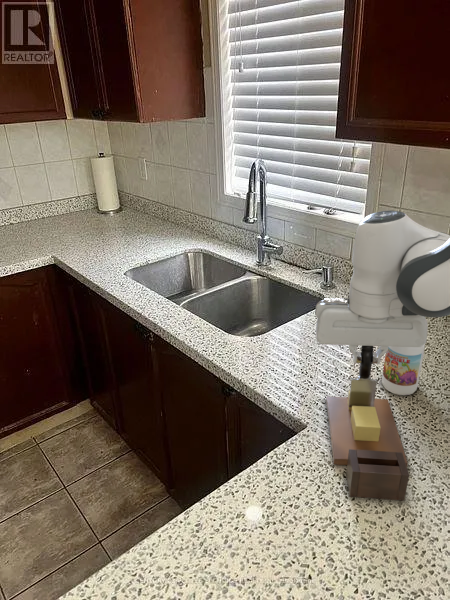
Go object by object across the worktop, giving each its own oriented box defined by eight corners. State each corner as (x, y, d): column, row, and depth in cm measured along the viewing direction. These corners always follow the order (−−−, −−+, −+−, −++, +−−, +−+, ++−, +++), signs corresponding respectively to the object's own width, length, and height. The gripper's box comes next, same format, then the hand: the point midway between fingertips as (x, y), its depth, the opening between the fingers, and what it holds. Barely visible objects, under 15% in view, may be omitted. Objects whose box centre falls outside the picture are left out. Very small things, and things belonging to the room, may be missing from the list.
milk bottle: (387, 372, 108) (398, 297, 99) (420, 382, 104) (435, 306, 95) (376, 388, 102) (387, 311, 93) (411, 400, 98) (426, 321, 89)
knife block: (397, 477, 80) (402, 452, 77) (404, 500, 75) (409, 475, 73) (346, 473, 81) (348, 448, 78) (349, 496, 76) (352, 471, 74)
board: (387, 404, 97) (387, 399, 96) (406, 469, 81) (407, 463, 80) (326, 401, 99) (326, 396, 98) (333, 464, 83) (334, 458, 82)
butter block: (373, 420, 91) (375, 406, 89) (378, 441, 85) (380, 427, 84) (350, 419, 91) (351, 405, 90) (354, 440, 86) (356, 426, 84)
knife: (372, 404, 93) (380, 340, 87) (374, 411, 91) (382, 345, 85) (348, 403, 94) (354, 339, 88) (349, 410, 92) (355, 345, 86)
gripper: (317, 305, 81) (313, 369, 87) (436, 308, 78) (423, 373, 84) (315, 291, 86) (311, 351, 92) (426, 292, 84) (415, 354, 90)
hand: (366, 361), depth 88 cm, fingers closed on knife, 2 cm apart
